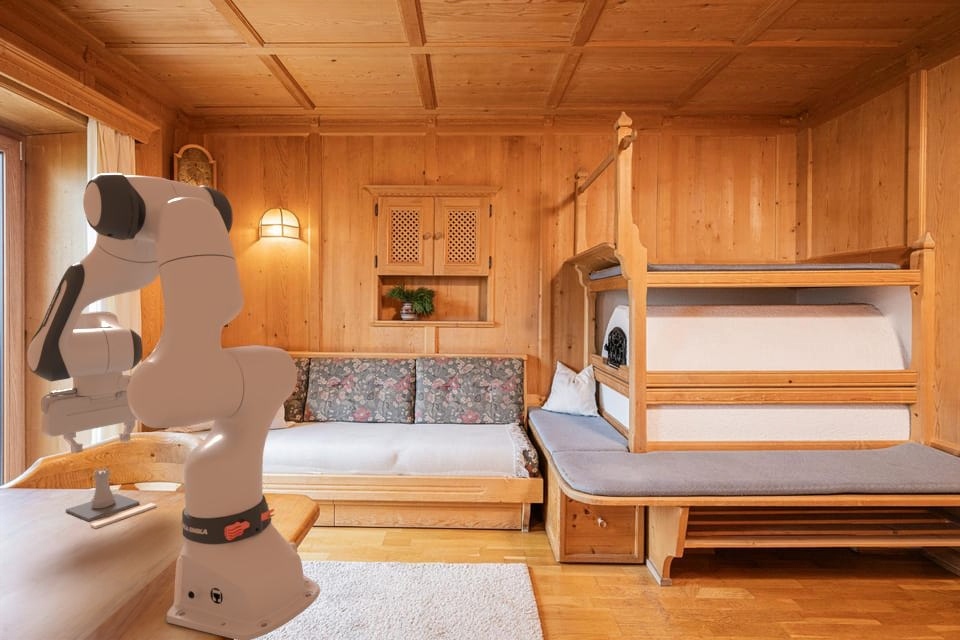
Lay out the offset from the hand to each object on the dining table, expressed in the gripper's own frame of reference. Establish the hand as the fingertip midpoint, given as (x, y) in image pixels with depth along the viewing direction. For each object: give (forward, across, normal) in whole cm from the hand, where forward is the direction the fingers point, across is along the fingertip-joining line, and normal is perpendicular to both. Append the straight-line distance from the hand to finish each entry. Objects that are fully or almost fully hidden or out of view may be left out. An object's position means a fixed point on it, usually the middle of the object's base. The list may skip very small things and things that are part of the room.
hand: (101, 446), depth 112 cm
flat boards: (+14, 0, -2) cm, 14 cm away
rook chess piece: (+14, 0, +1) cm, 14 cm away
